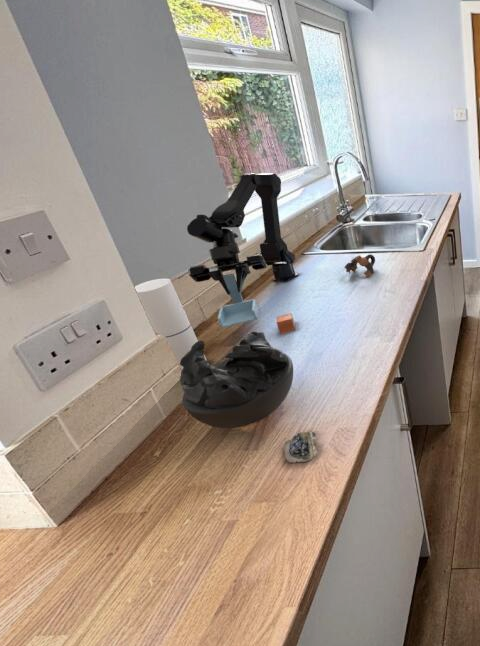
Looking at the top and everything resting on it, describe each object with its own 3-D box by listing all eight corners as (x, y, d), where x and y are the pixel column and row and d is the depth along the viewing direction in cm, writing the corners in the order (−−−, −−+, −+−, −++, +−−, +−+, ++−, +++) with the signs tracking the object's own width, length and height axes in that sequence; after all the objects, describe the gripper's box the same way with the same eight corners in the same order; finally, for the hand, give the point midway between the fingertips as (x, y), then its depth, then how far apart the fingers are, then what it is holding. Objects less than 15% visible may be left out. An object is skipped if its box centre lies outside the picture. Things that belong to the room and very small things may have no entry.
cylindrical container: (191, 380, 101) (148, 293, 91) (168, 377, 103) (123, 291, 92) (215, 362, 108) (177, 279, 97) (193, 360, 109) (154, 277, 98)
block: (276, 316, 121) (276, 322, 117) (291, 312, 122) (291, 318, 119) (280, 327, 122) (280, 334, 119) (294, 323, 124) (295, 330, 121)
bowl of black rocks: (321, 402, 92) (299, 333, 84) (226, 467, 77) (188, 390, 69) (276, 373, 102) (252, 309, 94) (184, 425, 88) (147, 354, 80)
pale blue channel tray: (225, 313, 122) (210, 278, 117) (258, 305, 126) (246, 270, 121) (221, 328, 114) (205, 291, 109) (257, 319, 118) (243, 282, 113)
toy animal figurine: (363, 282, 150) (348, 265, 147) (353, 286, 156) (338, 270, 153) (385, 263, 157) (371, 246, 154) (374, 267, 164) (360, 252, 161)
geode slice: (310, 428, 85) (307, 422, 84) (329, 447, 80) (327, 440, 79) (277, 449, 80) (274, 442, 79) (295, 471, 76) (292, 463, 75)
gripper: (176, 241, 113) (184, 292, 109) (252, 228, 120) (263, 275, 116) (192, 258, 123) (200, 304, 118) (262, 245, 130) (271, 288, 126)
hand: (234, 293), depth 119 cm, fingers closed on pale blue channel tray, 2 cm apart
